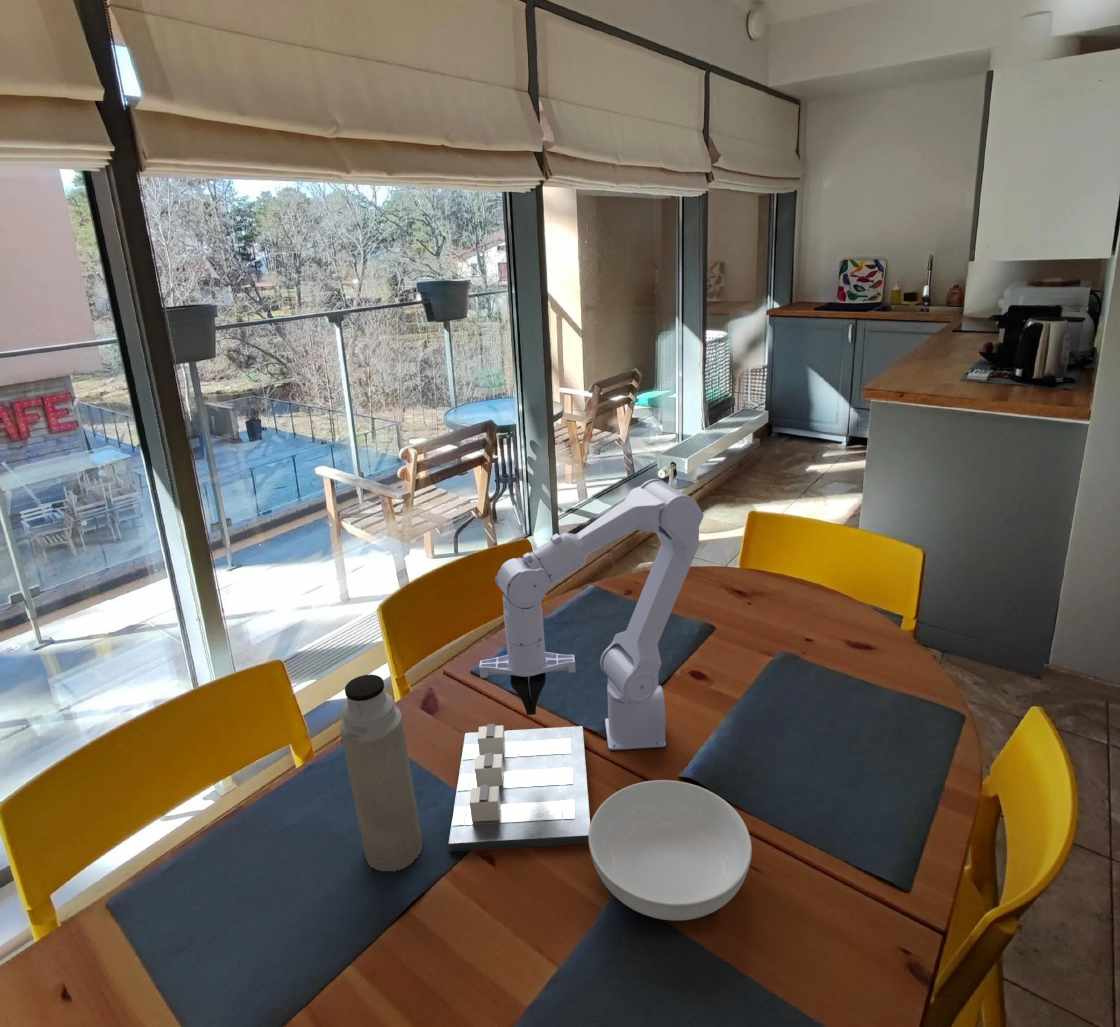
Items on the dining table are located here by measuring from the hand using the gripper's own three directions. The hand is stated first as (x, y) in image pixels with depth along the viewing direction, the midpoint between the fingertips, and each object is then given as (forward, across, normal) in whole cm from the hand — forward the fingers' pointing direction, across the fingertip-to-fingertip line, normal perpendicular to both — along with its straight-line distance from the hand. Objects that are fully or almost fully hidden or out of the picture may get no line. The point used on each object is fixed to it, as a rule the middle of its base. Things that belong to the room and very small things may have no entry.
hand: (531, 711), depth 116 cm
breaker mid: (+9, +7, +5) cm, 12 cm away
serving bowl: (+11, -18, +23) cm, 31 cm away
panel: (+10, +2, +5) cm, 12 cm away
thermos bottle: (+11, +20, +16) cm, 28 cm away
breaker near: (+9, +7, +12) cm, 16 cm away
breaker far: (+9, +7, -2) cm, 11 cm away
